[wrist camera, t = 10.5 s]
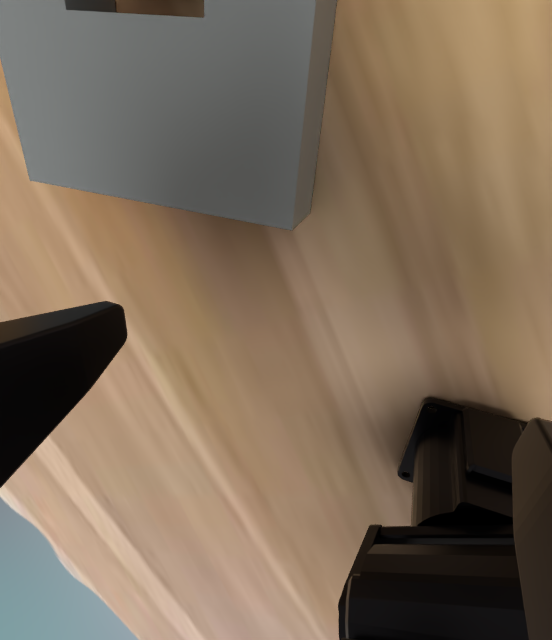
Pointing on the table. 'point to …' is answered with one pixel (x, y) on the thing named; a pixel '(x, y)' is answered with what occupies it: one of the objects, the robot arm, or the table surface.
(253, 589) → the table surface
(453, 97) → the table surface
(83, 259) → the table surface
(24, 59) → the socket block
